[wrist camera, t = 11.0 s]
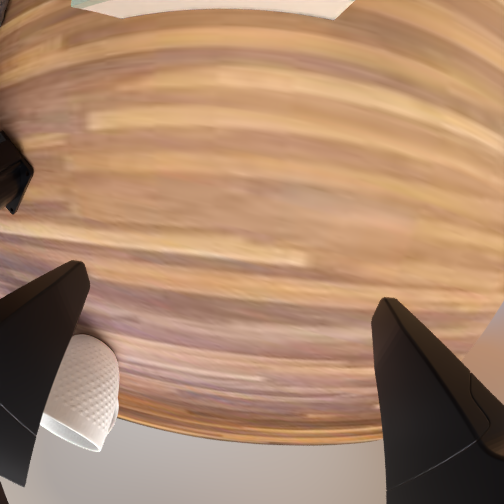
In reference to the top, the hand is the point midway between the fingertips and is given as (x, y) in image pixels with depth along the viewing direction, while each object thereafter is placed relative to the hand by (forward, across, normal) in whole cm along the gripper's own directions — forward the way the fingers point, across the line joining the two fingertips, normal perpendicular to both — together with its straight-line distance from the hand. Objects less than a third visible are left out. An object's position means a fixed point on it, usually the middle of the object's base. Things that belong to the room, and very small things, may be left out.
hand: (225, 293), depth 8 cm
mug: (+13, +19, +27) cm, 35 cm away
